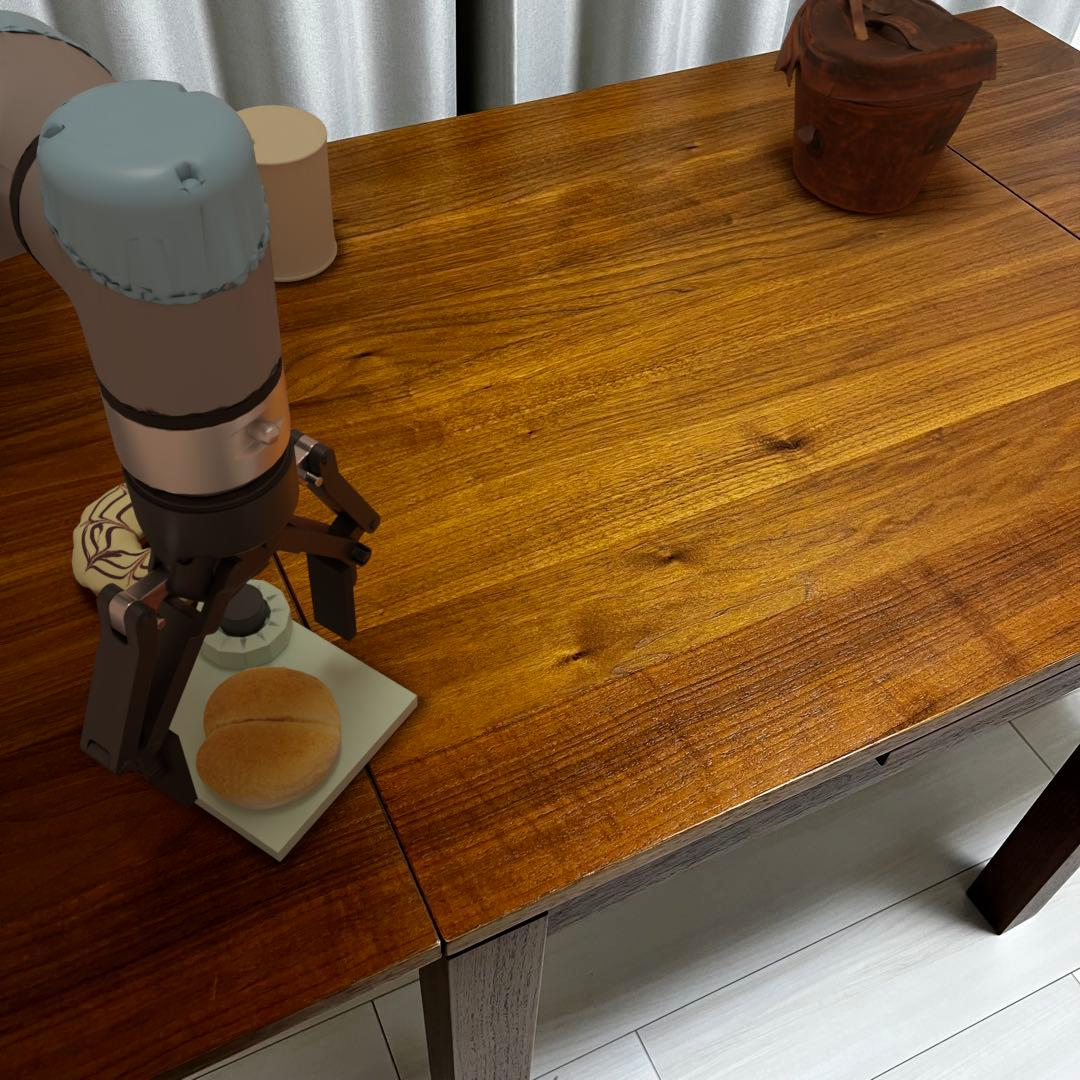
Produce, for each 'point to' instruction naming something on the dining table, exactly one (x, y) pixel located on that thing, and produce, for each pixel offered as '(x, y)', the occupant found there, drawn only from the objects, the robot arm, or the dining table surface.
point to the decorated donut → (110, 544)
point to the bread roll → (268, 737)
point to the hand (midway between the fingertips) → (259, 705)
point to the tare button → (244, 612)
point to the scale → (281, 642)
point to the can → (294, 188)
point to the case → (879, 95)
